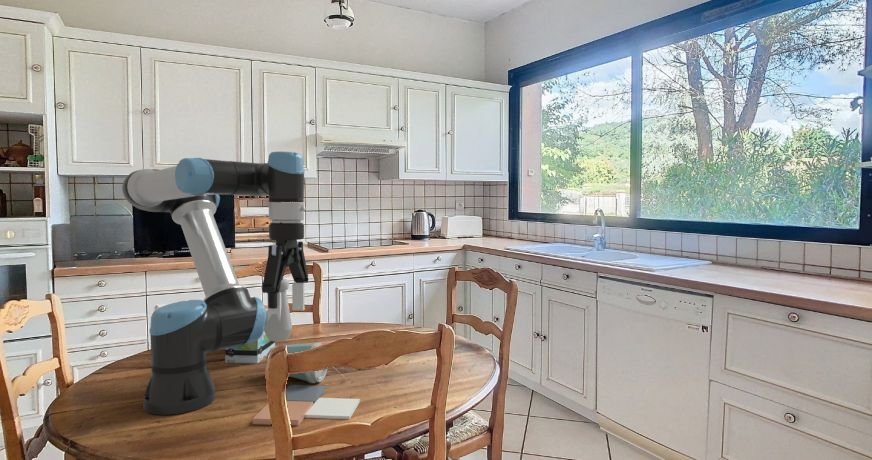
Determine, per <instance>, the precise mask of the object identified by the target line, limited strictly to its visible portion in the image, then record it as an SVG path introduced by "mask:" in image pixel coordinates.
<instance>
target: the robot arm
mask: <svg viewBox="0 0 872 460" xmlns="http://www.w3.org/2000/svg"><path fill="white" fill-rule="evenodd" d="M267 158H268V160H267V162H264V163H263V162H262V163H260V162H248V161H246V162H245V161H232V160H220V159H219V160H218V159H209V158H202V157H186V158H182V159H180V160H179V161H178V163H177V164H176V165H175V166H171V167H166V168H161V169H157V168H152V169H150V168H144V169H143V168H142V169H139V170H134V171H132V172H131V173H128V175H127V176H126V177H125V178H124V180H123V182H122V186H121V188H122V189H121V190H122V194H123V196H124V198H125V201H127V202H128V203H129V204H130V205H131V206H133V207H135V208H136V209H138V210H142V211H146V212H151V213H152V212H153V213H170V216H171V218H172V220H173V222H174V223H175V224H177V225H180V226H181V229H182V231H183V234H184V237H185V241H186V243H187V246H188V249H189V253H190V255H191V258H192V261H193V264H194V267H195V269H196V273H197V275H198V279H199V282H200V284H201V287H202V290H203V292H204V296H205V297H204V299H203V300H202V299H189V300H182V301H175V302H172V303H168V304H166V305H163V306H161V307H158V308H157V309H155V310H154V311H153V313H152V314H151V316H150V328H149V335H150V360H151V361H150V362H151V363H150V364H151V367H150V368H151V372H150V373H151V375H150V377H149V381H148V382H147V383H148V384H147V386H146V390H145V392H144V396H143V400H142V401H143V404H142V405H143V408H142V409H143V410H144V412H146V413H148V414H151V415H158V416H159V415H160V416H166V415H167V416H168V415H170V416H171V415H178V414H183V413H189V412H192V411H196V410H199V409H202V408H204V407H207V406H208V405H209V404H211V403H213V402H214V401H215V399H216V387H215V384H214V382H213V378H212V376H211V373H210V371H209V369H208V361H207V358H208V357H207V356H208V353H212V352H218V351H222V350H225V349H227V348H232V347H236V346H243V345H246V344H248V343H252V342H255V341H257V340H258V339H259V338H260V337H261V336H262V334H263V332H264V325H265V321H266V310H265V308H266V307H265V304H264V302H263V301H262V300H261V298H259V297H258V296H257V297H256V296H252V297H251V294H250V292H249V290H248V288H247V287H245V285H244V286H243V285H242V284H241V285H240V283H239V281H238V278H237V277H238V276H237V275H236V272H235V270H234V267H233V264H232V261H231V259H230V257H229V254H228V251H227V249H226V245H225V244H224V243H225V242H224V240H223V238H222V235H221V233H220V230H219V227H218V225H217V222H216V219H215V217H214V215H215V213H216V212H217V208H218V207H219V204H220V200H221V195H229V196H230V195H231V196H249V197H261V196H265V197H266V196H268V220H269V221H271V222H270V223H269V224H268V239H270V240H271V241H272V240H273V241H275V245H270V244H269V245H268V250H267V251H268V252H267V253H268V255H267V262H266V266H265V272H264V277H263V281H262V286H261V292H262V293H263V294H267V308H268V320H269V318H270V316H271V315H272V314H276V313H277V316H278V319H279V321H280V317H281V292H279V290H280V284H281V281H282V280H283V279H284V277H285V273H286V269H287V267H288V268H289V272H290V273H291V276H292V279H293V281H294V282H292V288H291V290H292V291H291V293H292V295H291V296H292V297H291V298H292V299H291V300H292V303H291V304H292V307H291V309H292V311H305V302H306V301H305V299H306V298H305V283H308V282H309V281H310V280H309V272H308V269H307V264H306V263H307V262H306V257H305V253H304V242H303V241H300V240H303V239H304V237H305V224H304V223H303V222H302V221H304V218H305V215H304V214H305V213H304V212H305V211H306V210H307V209H306V208H307V207H305V204H304V203H305V202H304V201H305V200H304V199H305V194H304V193H305V168H304V157H303V155H302V154H301V153H298V152H295V151H272V152H270V153H269V154H268V157H267ZM298 240H299V241H298Z"/></svg>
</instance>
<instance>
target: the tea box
mask: <svg viewBox="0 0 872 460" xmlns="http://www.w3.org/2000/svg"><path fill="white" fill-rule="evenodd" d="M265 310H266V316H267V311H268V307H265ZM273 347H276V341H269V339H268V337H267V335H266V333H265V332H263V334H262V336H261V337H260V338H259V339H258V340H257V341H255V342H252V343H248V344H246V345H243V346H236V347H232V348H227V349H224V351H225V352H224V353H225V355H224V362H225V364H230V363H231V364H258V363H260V362H261V361H262V360H263V359H264V358H265V357H267V354H268V352H269V350H270V349H271V348H273Z"/></svg>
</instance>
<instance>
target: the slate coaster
mask: <svg viewBox="0 0 872 460" xmlns="http://www.w3.org/2000/svg"><path fill="white" fill-rule="evenodd" d="M286 388H287V389H286ZM286 388H285V389H286V394H287V401H304V402H313V404H314V403H315V402H316V401H317V400H318V398H322V396H323V395H324V394H325V392H326V391H327V390H328V388H329V386H328V385H305V384H303V385H302V384H289V385H288V386H287V387H286Z"/></svg>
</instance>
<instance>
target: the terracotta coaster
mask: <svg viewBox="0 0 872 460" xmlns="http://www.w3.org/2000/svg"><path fill="white" fill-rule="evenodd" d="M287 405H288V411H289V415H290V421H291V425H290V426H300V424H301V423H302V422H303V420H304V419H305V414H306V413H307V412H308V410H309V409H310V408H311V407H312V406H313V402H304V401H287ZM252 425H268V426H269V425H271V420H270V413H269V408H268V403H267V404H266V405H265V406H264V407H263V408H262V409H261V410H260V411H259V412H258V413H257V414H255V416H254V417H253V418H252ZM271 426H272V425H271Z"/></svg>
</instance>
